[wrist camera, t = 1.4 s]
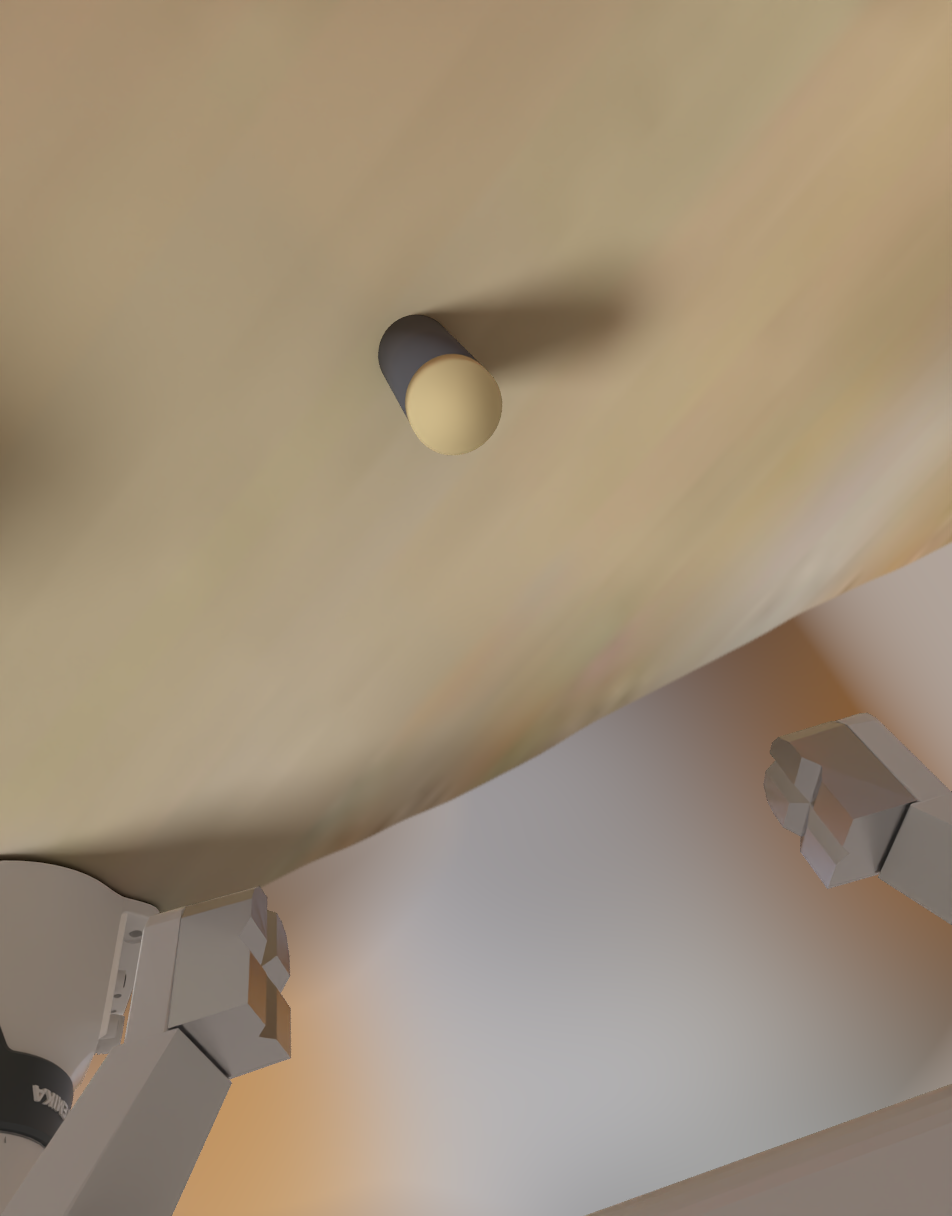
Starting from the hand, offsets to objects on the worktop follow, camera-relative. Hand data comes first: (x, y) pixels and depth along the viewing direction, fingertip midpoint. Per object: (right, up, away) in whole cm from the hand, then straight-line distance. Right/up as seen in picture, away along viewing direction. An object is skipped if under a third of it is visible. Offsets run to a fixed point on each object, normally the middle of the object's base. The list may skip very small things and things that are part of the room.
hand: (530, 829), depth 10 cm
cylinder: (-4, +15, +21) cm, 27 cm away
